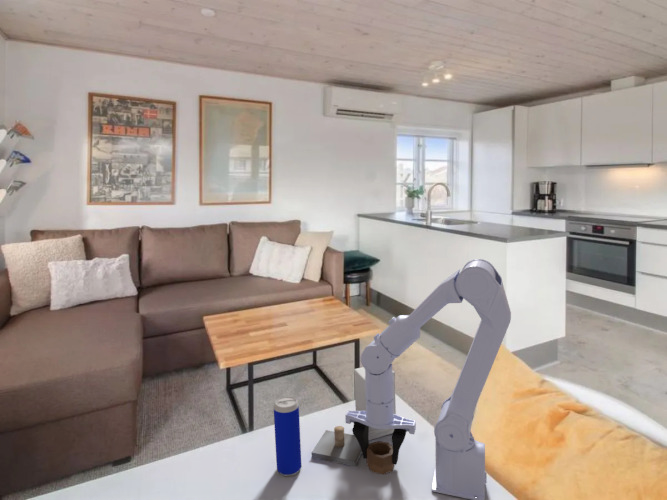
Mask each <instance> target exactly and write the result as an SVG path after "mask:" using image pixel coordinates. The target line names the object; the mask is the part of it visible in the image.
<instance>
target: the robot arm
mask: <svg viewBox="0 0 667 500" xmlns="http://www.w3.org/2000/svg"><path fill="white" fill-rule="evenodd" d="M503 282H504V281H503V279H502V276H501V275H500V274H499V272H498V271H497V269H496V268H495V266H494V265H493V264H492V263H491V262H489V261H488V260H485V259H483V258H476V259H472V260H469V261H468V262H466V263H465V265H464V266H463V268H462V269H461V268H459V269H458V270H456V271H455V272H453V273H452V274H450V276H448V277H447V278H446V279H444V280H443V281H441V283H440V284H439V285H438V286H436V288H434V290H433V291H432V292H431V293H430V294H429V295H428V296H427V297H426V298H425V299H424V300H423V301H421V303H420V304H419V305H418V306H417V307H415V309H414V310H413V311H412V312H411V313H410V314H402V315H401V314H400V315H398V316H397V317H395V316H393V317H391V319H389V321H388V326H387V327H386V328H384V329H383V331H382V332H381V333H376V334H375V335H374V336H373V340H372V341H371V342H370V343H369V344H368V345H367V346H365V348H364V349H363V351H362V353H361V355H360V363H361V367H364V369H365V394H366V411H356V410H347V412H346V413H345V418H344V419H345V424H349V425H350V424H352V423H353V428H352V429H351V431H352V435H354V436H355V437H356V439H357V440H358V442H359V445H360V447H361V450H362V453H361V455H362V457H363V459H364V460H367V448H368V446H369V444H370V440H369V437H368V436H369V427H372V428H375V429H394V432H393V433H392V434H391V443H392V444H391V446H392V447H393V464H394V466H395V465H397V463H398V460H399V453H400V450H401V449H400V448H401V446H402V444H403V443H404V440H405V438H406V434H407V432H408V434H409V435H415V433H416V430H417V429H416V428H417V427H416V425H417V424H416V420H413V419H409V418H406V417H404V416H401V415H397V413H396V414H394V409H393V375H392V370H393V364H392V363H393V362H394V360H395V359H397V358H399V357H400V356H402V354H404V353H405V352H406V350H407V349H409V348H410V347H411V346H412V345H413V344H414V343H415V342H416V341H418V340H419V338H421V328H422V327H423V326H424V325H425V324H426V323H427V322H428V321H429V320H431V319H432V318H433V317H434V316H435V315H436V314H437V313H439V312H440V311H441V310H442V309H444V308H445V307H446V306H447V305H448V304H461V303H462V302H463V301H464V300H465V301H466V302H467V303H469V304H470V305H471V306H472V307H473V308H474V310H475V311H476V313H477V315H478V316H479V318H480V319H481V320H480V323H479V324H478V327H477V329H476V332H475V335H474V337H473V340H472V343H471V345H470V348H469V351H468V353H467V355H466V358H465V361H464V363H463V366H462V369H461V371H460V373H459V376H458V378H457V381H456V384H455V386H454V388H453V389H452V393H451V394H450V396H449V397H448V398H447V399H445V400H444V401H443V402H442V404H441V409H440V412H439V415H438V420H437V421H436V423H435V426H434V429H433V432H434V437H435V439H434V440H435V465H434V472H433V478H432V483H431V484H432V485H431V491H432V492H433V493H434V492H435V493H440V494H444V495H448V496H453V497H457V498H463V499H466V500H467V499H468V500H485V498H486V496H485V494H486V491H485V490H486V489H485V488H486V484H487V477H488V476H487V472H486V447H485V446H486V443H484V442H481V441H478V440H476V439H475V437H474V436H473V434H472V431H471V428H472V422H473V419H474V417H475V416H474V415H475V414H474V413H475V410H476V407H477V404H478V402H479V399H480V397H481V395H482V391H483V389H484V387H485V385H486V383H487V379H488V378H489V375H490V372H491V370H492V368H493V365H494V363H495V360H496V358H497V355H498V354H499V353H498V352H499V350H500V348H501V345H502V343H503V341H504V338H505V336H506V334H507V330H508V328H509V325H510V324H511V320H512V312H511V308H510V305H509V301H508V298H507V295H506V291H505V287H504V283H503ZM475 497H477V498H475Z"/></svg>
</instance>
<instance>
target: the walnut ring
mask: <svg viewBox="0 0 667 500" xmlns="http://www.w3.org/2000/svg"><path fill="white" fill-rule="evenodd" d="M366 466H367V467H368V469H369V470H370V471H371V472H372V473H376V474H380V475H386V474H387V473H388V474H389V473H390V472H393V470H394V467H395V464H393V445H392V444H391V443H389V442H387V441H381V440H376V441H374V442H371V443H370V442H369V446H368V448H367V459H366Z"/></svg>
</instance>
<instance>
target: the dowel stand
mask: <svg viewBox="0 0 667 500" xmlns="http://www.w3.org/2000/svg"><path fill="white" fill-rule="evenodd" d="M361 456H362V450H361V447H360V445H359V442H358V440H357V439H356V437H355V436H354V434H351V433H350V434H349V433H345V427H344V426H343V425H337V426H335V427H334V429H333V430H327V429H326V430H325V431H324V432H323V434H322V436H321V437H320V439H319V441H318V442H317V443H316V445H315V446H314V448H313V449H312V451H311V458H313V459H318V460H322V461H327V462H333V463H338V464H343V465H347V466H352V467H356V466H357V463H358V462H359V460H360V457H361Z"/></svg>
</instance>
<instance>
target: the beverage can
mask: <svg viewBox="0 0 667 500" xmlns="http://www.w3.org/2000/svg"><path fill="white" fill-rule="evenodd" d="M273 420H274V422H273V423H274V424H273V425H274V439H275V443H274V444H275V456H276V457H275V460H276V470H277V472H278V473H279V474H280V475H282V476H284V477H293V476H295V475H296V474H298V473H299V472H300V470H301V469H302V451H301V450H302V449H301V446H302V445H301V428H300V427H301V426H300V405H299V402H298V399H297V398H296V397H294V396H289V395H287V396H281V397H279V398H277V399H276V400H275V401H274V404H273Z"/></svg>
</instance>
